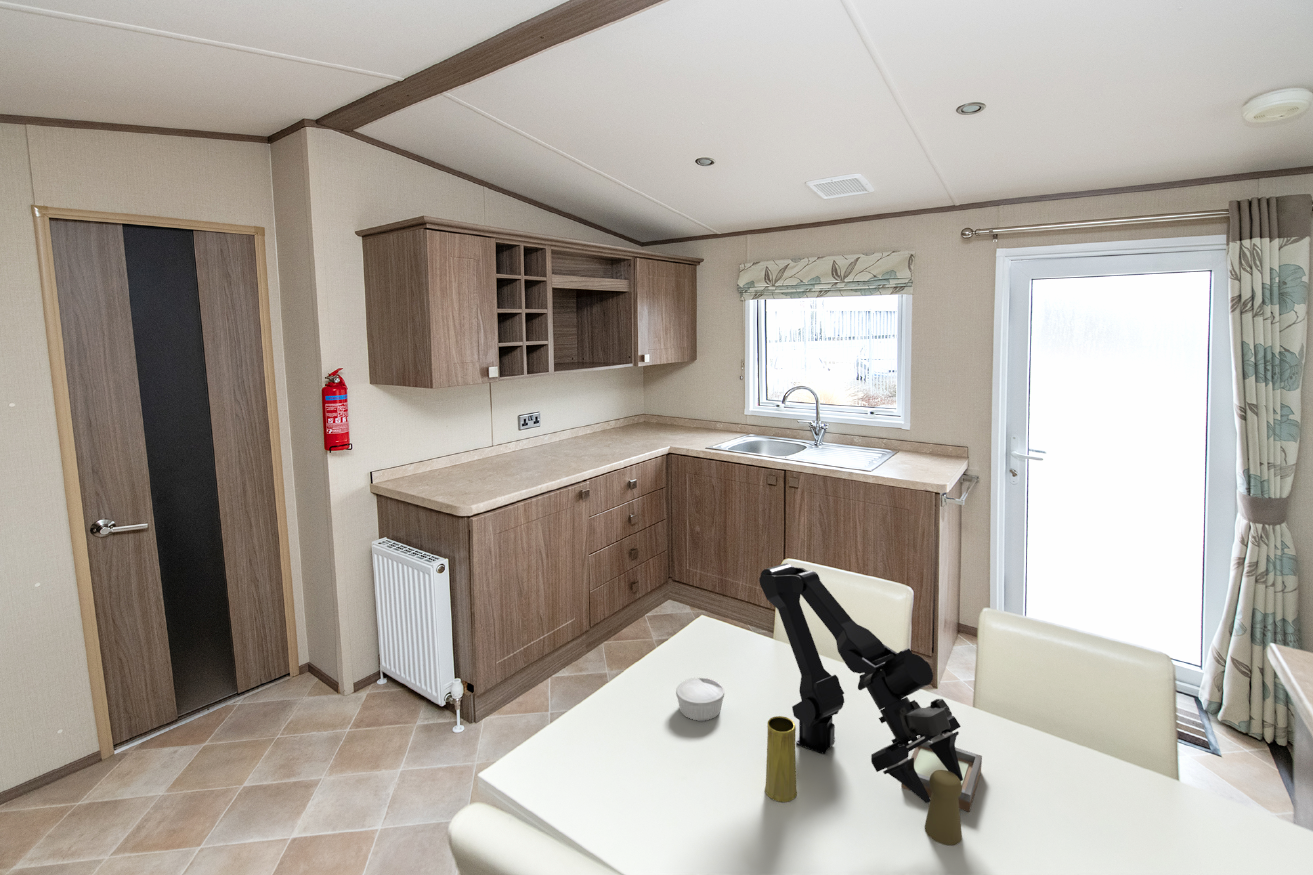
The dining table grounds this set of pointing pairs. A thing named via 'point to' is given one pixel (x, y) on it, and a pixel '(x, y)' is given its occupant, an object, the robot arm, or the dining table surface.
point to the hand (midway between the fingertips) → (945, 791)
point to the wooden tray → (930, 762)
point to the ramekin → (700, 698)
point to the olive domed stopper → (944, 808)
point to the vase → (781, 759)
